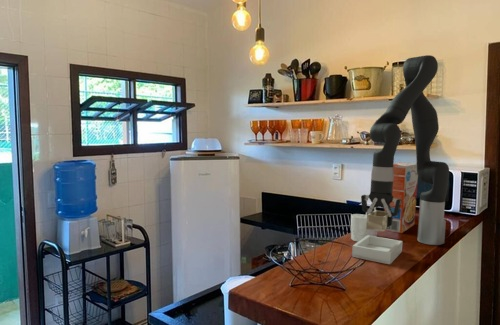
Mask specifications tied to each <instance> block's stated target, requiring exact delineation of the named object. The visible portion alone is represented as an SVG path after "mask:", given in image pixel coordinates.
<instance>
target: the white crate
mask: <svg viewBox="0 0 500 325" xmlns="http://www.w3.org/2000/svg"><path fill="white" fill-rule="evenodd" d="M402 252H403V240H400V239H399V240H397V239H392V238H386V237H382V236H370V235H367V236H366V237H364V238H363V239H361V240H360V241H359V242H357V241H356V242H355V243H354V244H353V245H352V252H351V257H353V258H357V259H363V260H366V261H371V262H377V263H381V264H385V265H391V264H392V263H393V262H394V261H395V260H396V259H397V258H398V257H399V256H400V254H401V253H402Z"/></svg>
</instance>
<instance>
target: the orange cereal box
mask: <svg viewBox="0 0 500 325" xmlns="http://www.w3.org/2000/svg"><path fill="white" fill-rule="evenodd" d="M393 172H394V176H393V177H394V180H393V191H392V195H393V198H396V199H401V205H400V210H399V214H398V215H397V216H393V219H392V225H391V226H390V227H389V228H388V229H386V230H385V231H386V232H393V233H397V234H403V233H404V232H405V231H407V230H409V229H410V228H411V227H413V226H415V223H416V222H415V221H416V209H417V207H416V206H417V197H418V196H417V193H418V181H419V180H418V179H419V178H418V175H417V162H416V163H414V162H413V163H412V162H396V163H394V164H393ZM390 206H391V210H392V212H394V209H395V204H394V201H392V202H391V203H390ZM388 207H389V206H388ZM386 208H387V207H386ZM383 211H384V212H386V210H385V208H383ZM385 231H384V232H385Z"/></svg>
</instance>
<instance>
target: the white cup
mask: <svg viewBox="0 0 500 325" xmlns="http://www.w3.org/2000/svg"><path fill="white" fill-rule="evenodd" d="M366 225H367V215H366V214H361V213H353V214H350V240H352V241H354V242H356V243H357V242H359V241H360V240H361V239H363V238H364V237H366V236H367V235H369V231H370V229H366Z"/></svg>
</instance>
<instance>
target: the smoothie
mask: <svg viewBox="0 0 500 325" xmlns="http://www.w3.org/2000/svg"><path fill="white" fill-rule="evenodd" d="M375 210H377V207H375V208H374V210H373V211H375ZM365 215H367V213H366V212H365ZM378 232H379V231H377V230H370V231H369V235H370V236H376V237H378Z"/></svg>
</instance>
